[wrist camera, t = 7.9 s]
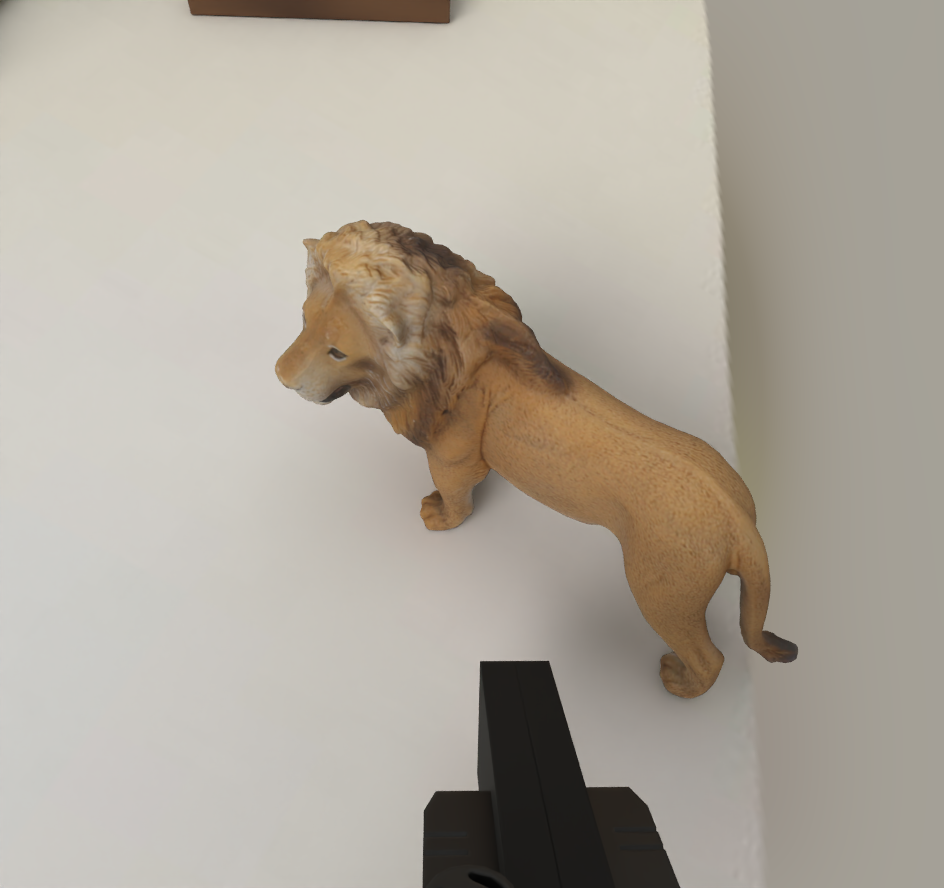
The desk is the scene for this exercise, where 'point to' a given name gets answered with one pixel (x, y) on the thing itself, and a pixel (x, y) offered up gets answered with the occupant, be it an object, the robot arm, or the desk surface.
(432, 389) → the lion figurine
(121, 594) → the desk surface
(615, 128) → the desk surface
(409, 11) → the walnut rack
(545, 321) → the desk surface
